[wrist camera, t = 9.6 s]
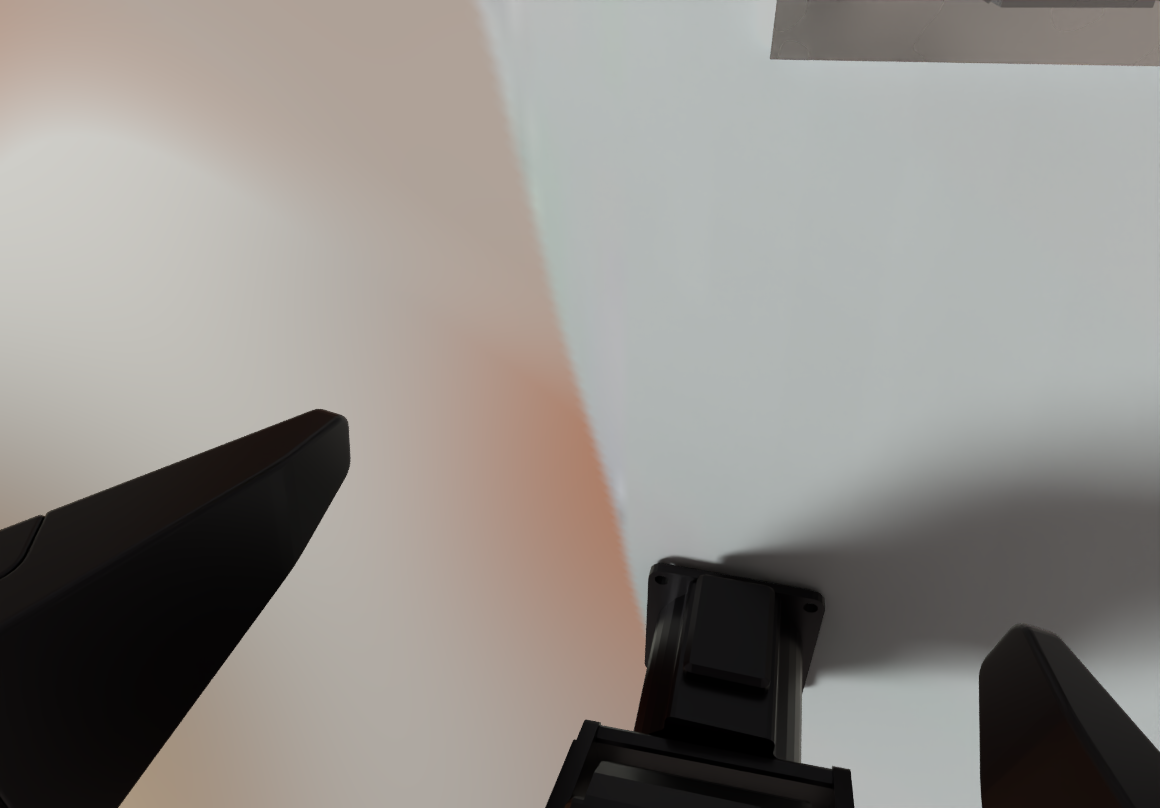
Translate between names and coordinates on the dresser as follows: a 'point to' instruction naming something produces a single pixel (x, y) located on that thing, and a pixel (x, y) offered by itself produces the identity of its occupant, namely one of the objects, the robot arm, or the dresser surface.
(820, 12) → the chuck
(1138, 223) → the dresser surface
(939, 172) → the dresser surface
